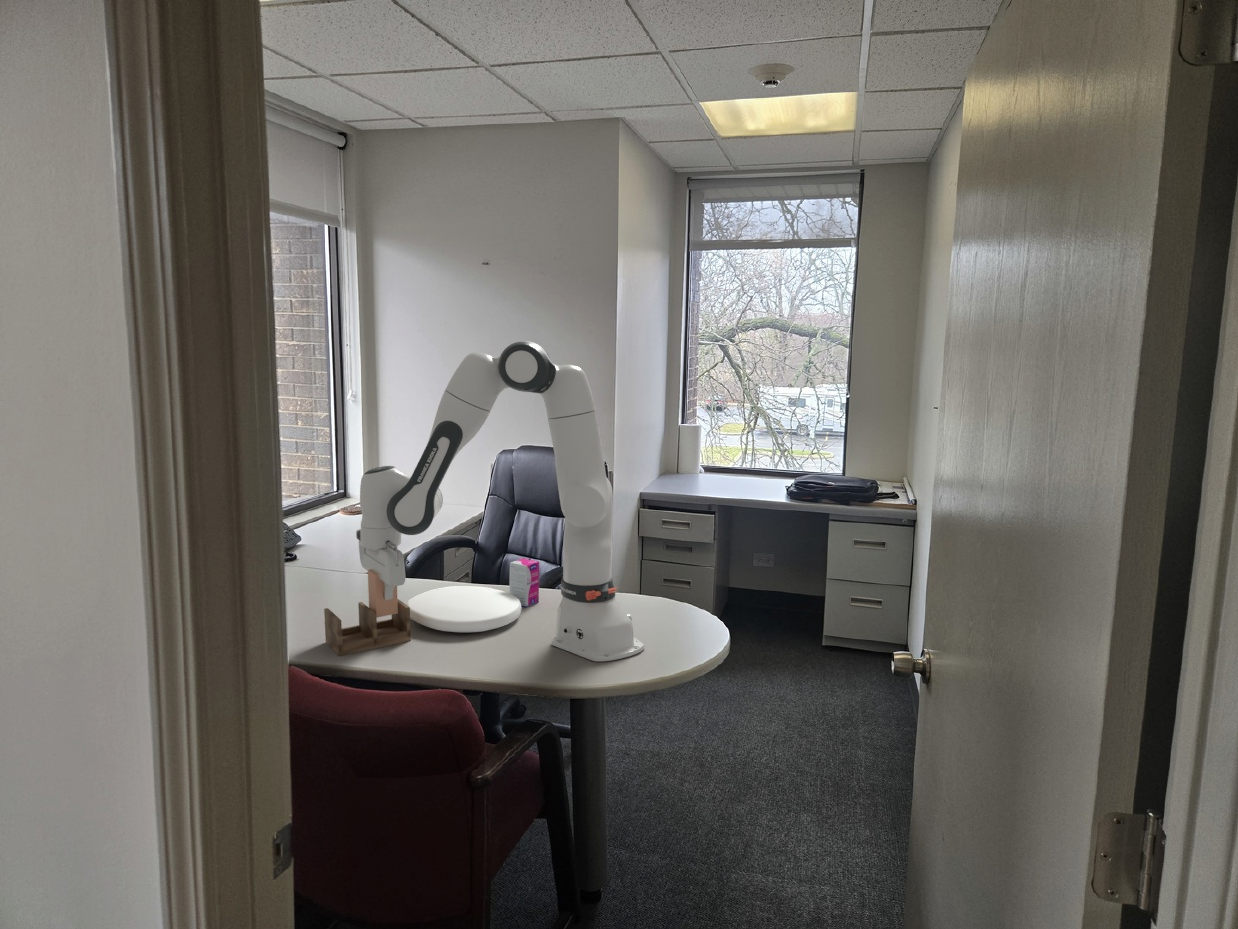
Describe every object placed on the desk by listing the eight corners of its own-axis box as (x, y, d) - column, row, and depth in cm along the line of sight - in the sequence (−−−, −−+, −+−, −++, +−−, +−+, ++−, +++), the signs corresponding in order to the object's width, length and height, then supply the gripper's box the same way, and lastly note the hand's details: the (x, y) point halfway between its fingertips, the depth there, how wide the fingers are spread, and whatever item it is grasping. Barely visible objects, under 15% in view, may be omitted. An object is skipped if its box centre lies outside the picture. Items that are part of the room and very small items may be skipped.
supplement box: (526, 608, 212) (526, 565, 210) (508, 604, 215) (508, 562, 213) (539, 602, 217) (539, 560, 215) (522, 598, 220) (522, 557, 218)
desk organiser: (410, 640, 189) (409, 607, 187) (339, 656, 179) (337, 621, 178) (395, 628, 197) (394, 596, 195) (325, 642, 187) (324, 608, 186)
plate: (538, 591, 212) (492, 625, 187) (536, 615, 213) (490, 652, 188) (442, 570, 219) (386, 600, 194) (440, 593, 221) (384, 626, 195)
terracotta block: (397, 613, 189) (396, 571, 187) (376, 617, 186) (375, 575, 184) (390, 607, 193) (388, 566, 191) (369, 611, 190) (367, 569, 188)
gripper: (411, 544, 180) (413, 605, 182) (379, 526, 196) (381, 582, 199) (383, 548, 176) (385, 610, 178) (353, 530, 193) (355, 586, 195)
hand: (383, 595), depth 189 cm, fingers closed on terracotta block, 5 cm apart
